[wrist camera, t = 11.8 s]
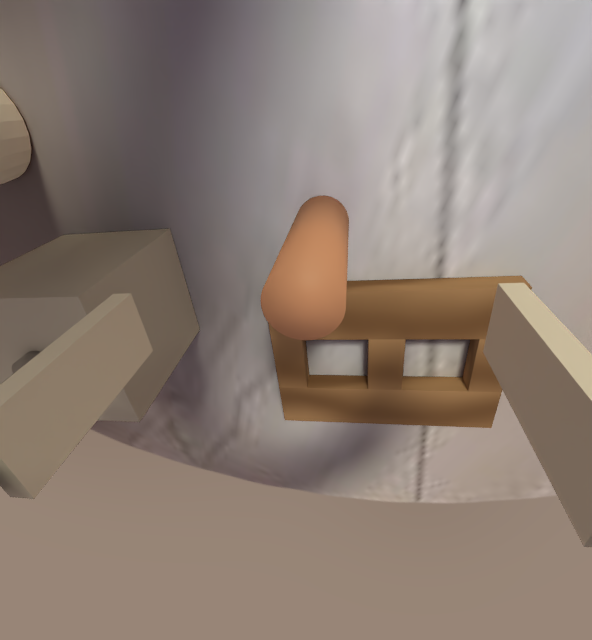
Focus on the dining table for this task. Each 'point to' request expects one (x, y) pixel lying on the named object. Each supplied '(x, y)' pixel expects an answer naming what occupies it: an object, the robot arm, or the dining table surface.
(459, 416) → the board
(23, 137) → the cup
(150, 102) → the dining table surface
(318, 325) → the peg
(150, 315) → the block
